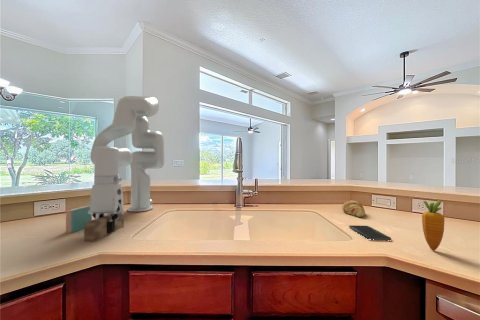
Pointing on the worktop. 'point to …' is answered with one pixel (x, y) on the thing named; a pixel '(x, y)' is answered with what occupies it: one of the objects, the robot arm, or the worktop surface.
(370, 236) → the phone
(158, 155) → the robot arm
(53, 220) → the worktop surface
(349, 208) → the croissant
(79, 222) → the tile
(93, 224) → the brown wooden block
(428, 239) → the carrot
